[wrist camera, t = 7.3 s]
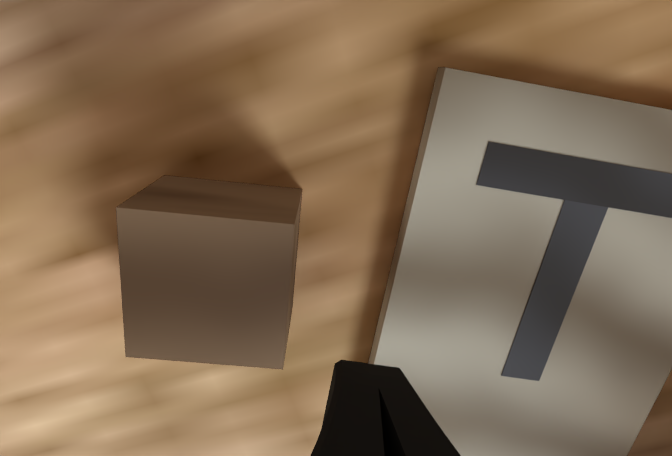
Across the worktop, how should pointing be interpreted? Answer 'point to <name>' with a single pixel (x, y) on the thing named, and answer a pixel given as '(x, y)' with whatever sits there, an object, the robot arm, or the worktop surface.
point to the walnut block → (208, 271)
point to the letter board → (534, 268)
